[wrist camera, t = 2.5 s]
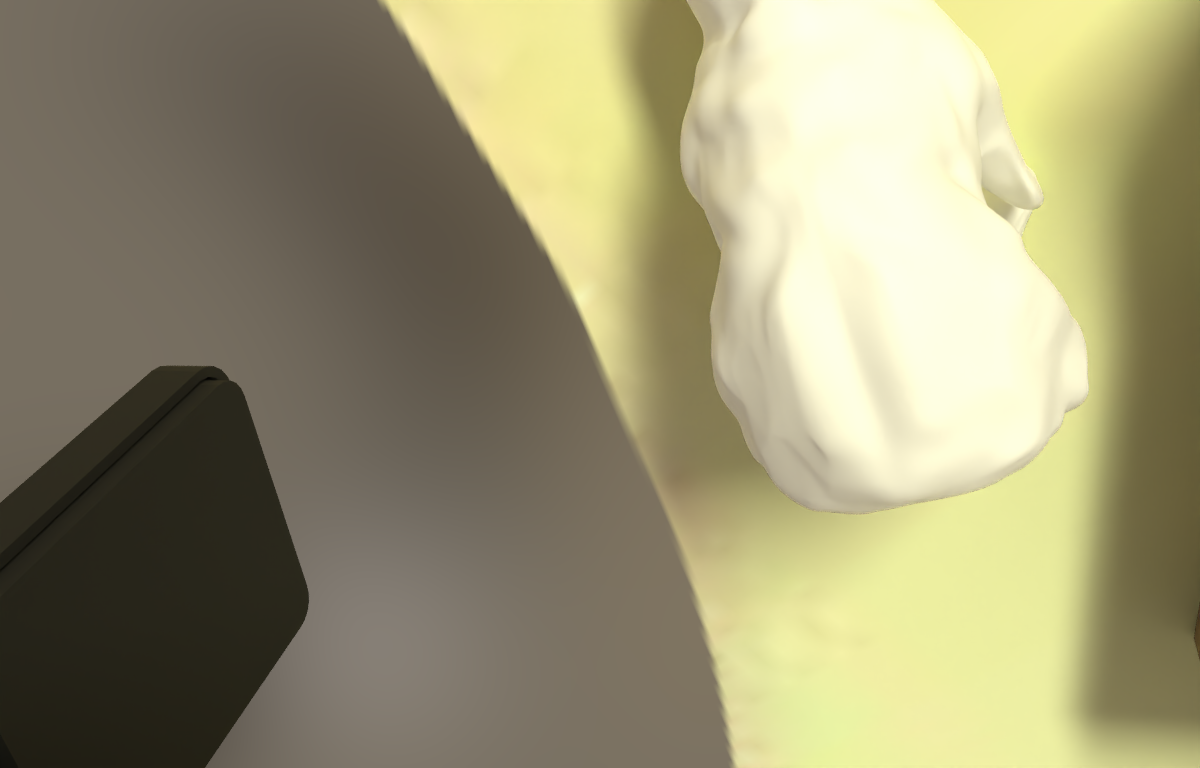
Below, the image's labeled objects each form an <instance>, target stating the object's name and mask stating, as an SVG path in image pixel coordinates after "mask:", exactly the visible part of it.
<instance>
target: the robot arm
mask: <svg viewBox="0 0 1200 768" xmlns="http://www.w3.org/2000/svg"><path fill="white" fill-rule="evenodd" d="M308 603H309V595H308V588H307V585H306V581H305V578H304V575H303V572H302V569H301V566H300V563H299V560H298V557H297V554H296V551H295V548H294V545H293V542H292V539H291V536H290V533H289V530H288V527H287V524H286V520H285V518H284V514H283V511H282V509H281V505H280V502H279V499H278V496H277V493H276V490H275V487H274V484H273V481H272V478H271V475H270V472H269V469H268V466H267V463H266V460H265V457H264V454H263V451H262V447H261V445H260V441H259V438H258V435H257V432H256V429H255V426H254V423H253V420H252V417H251V414H250V411H249V408H248V405H247V402H246V399H245V396H244V394H243V392H242V390H241V388H240V387H239V386H238V385H237V383H235V382H232V381H229V379H228V377H227V375H226V374H225V373H224V372H223V371H222V370H220V369H219V368H216V367H214V366H160V367H158V368H156V369H155V370H153V371H151V372H150V373H149V374H148V375H147V376H146V377H144V378H143V379H142V380H141V381H140V382H139V383H137V384H136V385H135V386H134V387H133V388H132V389H131V390H129V391H128V392H127V393H126V394H125V395H124V396H123V397H121V398H120V399H119V400H118V401H117V402H116V403H115V404H113V405H112V406H111V407H110V408H109V409H108V410H107V411H105V412H104V413H103V414H102V415H101V416H100V417H98V418H97V419H96V420H95V421H94V422H93V423H91V424H90V426H88V427H87V428H86V429H85V430H84V431H82V432H81V433H80V434H79V435H78V436H77V437H75V438H74V439H73V440H72V441H71V442H70V443H69V444H67V445H66V446H65V447H64V448H63V449H62V450H60V451H59V452H58V453H57V454H56V455H55V456H54V457H53V458H51V459H50V460H49V461H48V462H47V463H46V464H44V465H43V466H42V467H41V468H40V469H39V470H37V471H36V472H35V473H34V474H33V475H32V476H31V477H29V478H28V479H27V480H26V481H25V482H24V483H22V484H21V485H20V486H19V487H18V488H17V489H16V490H14V491H13V492H12V493H11V494H10V495H9V496H8V497H6V498H5V499H4V500H3V501H2V502H1V503H0V768H205V767H206V765H207V764H208V762H209V761H210V759H211V758H212V756H213V755H214V753H215V752H216V750H217V749H218V748H219V746H220V745H221V743H222V742H223V740H224V739H225V737H226V736H227V734H228V733H229V731H230V730H231V729H232V727H233V726H234V724H235V723H236V721H237V720H238V718H239V717H240V715H241V714H242V712H243V711H244V709H245V708H246V707H247V705H248V704H249V702H250V701H251V699H252V698H253V696H254V695H255V693H256V692H257V690H258V689H259V687H260V686H261V684H262V683H263V681H264V680H265V679H266V677H267V676H268V674H269V672H270V671H271V670H272V668H273V667H274V665H275V664H276V662H277V661H278V659H279V658H280V657H281V655H282V653H283V652H284V651H285V649H286V648H287V646H288V645H289V643H290V642H291V640H292V639H293V638H294V636H295V635H296V633H297V632H298V630H299V629H300V627H301V625H302V624H303V622H304V620H305V617H306V614H307V610H308Z"/></svg>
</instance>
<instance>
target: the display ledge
mask: <svg viewBox="0 0 1200 768" xmlns="http://www.w3.org/2000/svg"><path fill="white" fill-rule="evenodd" d="M1194 640H1195V644H1196V648H1197V652H1198V655H1199V659H1200V604H1199V610H1198V617H1197V623H1196V629H1195V635H1194Z"/></svg>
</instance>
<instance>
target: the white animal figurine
mask: <svg viewBox="0 0 1200 768" xmlns="http://www.w3.org/2000/svg"><path fill="white" fill-rule="evenodd" d="M686 1H687V3H688V5H689V6H690V8H691V10H692V12H693V13H694V15H695V17H696V19H697V20H698V22H699V24H700V26H701V28H702V31H703V37H704V43H703V50H702V53H701V56H700V58H699V61H698V63H697V66H696V70H695V79H694V85H693V90H692V94H691V98H690V101H689V104H688V107H687V110H686V113H685V116H684V119H683V123H682V129H681V137H680V162H681V170H682V174H683V178H684V180H685V183H686V186H687V188H688V190H689V192H690V193H691V195H692V196H693V197H694V199H695V200H696V201H697V202H698V204H699V205H700V206H701V207H702V208H703V209H704V211H705V215H706V218H707V220H708V222H709V224H710V227H711V229H712V232H713V235H714V237H715V240H716V242H717V245H718V247H719V249H720V251H721V258H720V266H719V272H718V277H717V282H716V287H715V292H714V296H713V301H712V305H711V310H710V325H711V336H712V338H711V361H712V369H713V376H714V381H715V385H716V388H717V390H718V393H719V395H720V397H721V398H722V400H723V402H724V403H725V405H726V406H727V407H728V409H729V410H730V411H731V412H732V414H733V415H734V416H735V417H736V418H737V420H738V422H739V424H740V427H741V430H742V434H743V437H744V440H745V442H746V444H747V446H748V448H749V450H750V452H751V454H752V456H753V457H754V459H755V460H756V461H757V462H758V463H760V464H761V465H762V466H763V467H764V469H765V470H766V472H767V474H768V475H769V477H770V478H771V480H772V481H773V483H774V484H775V485H776V486H777V488H778V489H779V490H780V491H781V492H783V493H784V494H785V495H786V496H788V497H789V498H790V499H792V500H793V501H794V502H796V503H798V504H799V505H801V506H803V507H805V508H807V509H810V510H813V511H821V512H834V513H844V514H867V513H872V512H876V511H882V510H887V509H893V508H898V507H903V506H907V505H911V504H915V503H921V502H927V501H933V500H938V499H943V498H948V497H953V496H957V495H962V494H966V493H969V492H973V491H976V490H980V489H982V488H985V487H988V486H990V485H992V484H994V483H996V482H998V481H1000V480H1002V479H1003V478H1005V477H1007V476H1009V475H1011V474H1013V473H1015V472H1017V471H1018V470H1020V469H1022V468H1023V467H1025V466H1026V465H1028V464H1029V463H1030V462H1031V461H1032V460H1033V459H1034V458H1035V457H1036V456H1037V455H1038V454H1039V453H1040V452H1041V451H1042V450H1043V448H1044V447H1045V446H1046V444H1047V443H1048V441H1049V439H1050V438H1051V437H1052V436H1053V435H1054V434H1055V433H1056V432H1057V431H1058V429H1059V428H1060V427H1061V425H1062V422H1063V418H1064V413H1066V412H1068V411H1071V410H1073V409H1075V408H1076V407H1078V406H1080V405H1081V404H1082V403H1083V402H1084V400H1085V399H1086V397H1087V395H1088V391H1089V383H1088V361H1087V349H1086V343H1085V339H1084V336H1083V333H1082V330H1081V328H1080V326H1079V324H1078V323H1077V321H1076V320H1075V319H1074V318H1073V317H1072V316H1071V314H1070V310H1069V308H1068V306H1067V304H1066V302H1065V300H1064V299H1063V297H1062V295H1061V294H1060V293H1059V291H1058V290H1057V289H1056V287H1055V286H1054V285H1053V283H1052V282H1051V281H1050V280H1049V278H1048V277H1047V276H1046V275H1045V274H1044V273H1043V272H1042V271H1041V270H1040V268H1039V267H1038V266H1037V265H1036V264H1035V263H1034V262H1033V260H1032V259H1031V258H1030V257H1029V255H1028V254H1027V252H1026V250H1025V247H1024V244H1023V241H1022V238H1021V237H1022V235H1023V232H1024V229H1025V227H1026V224H1027V222H1028V219H1029V217H1030V215H1031V213H1032V211H1033V209H1036V208H1039V207H1040V206H1041V205H1042V204H1043V201H1044V196H1043V192H1042V189H1041V187H1040V184H1039V183H1038V181H1037V178H1036V175H1035V173H1034V172H1033V170H1032V169H1031V168H1029V167H1028V166H1027V165H1026V163H1025V161H1024V159H1023V157H1022V155H1021V153H1020V151H1019V148H1018V146H1017V144H1016V141H1015V139H1014V137H1013V135H1012V133H1011V130H1010V128H1009V125H1008V122H1007V119H1006V116H1005V113H1004V109H1003V104H1002V98H1001V93H1000V89H999V85H998V82H997V80H996V77H995V75H994V73H993V71H992V69H991V67H990V65H989V63H988V61H987V59H986V57H985V55H984V54H983V52H982V51H981V50H980V48H979V47H978V46H977V45H976V44H975V43H974V42H973V41H972V40H971V39H970V38H969V37H968V36H967V35H966V34H965V33H964V32H963V31H962V30H961V29H960V28H959V27H958V26H957V25H956V24H955V23H954V22H953V20H952V19H951V18H950V17H949V16H948V15H947V14H946V13H945V12H944V11H943V10H942V9H941V8H940V7H939V6H938V5H937V4H936V2H935V1H934V0H686Z"/></svg>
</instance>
